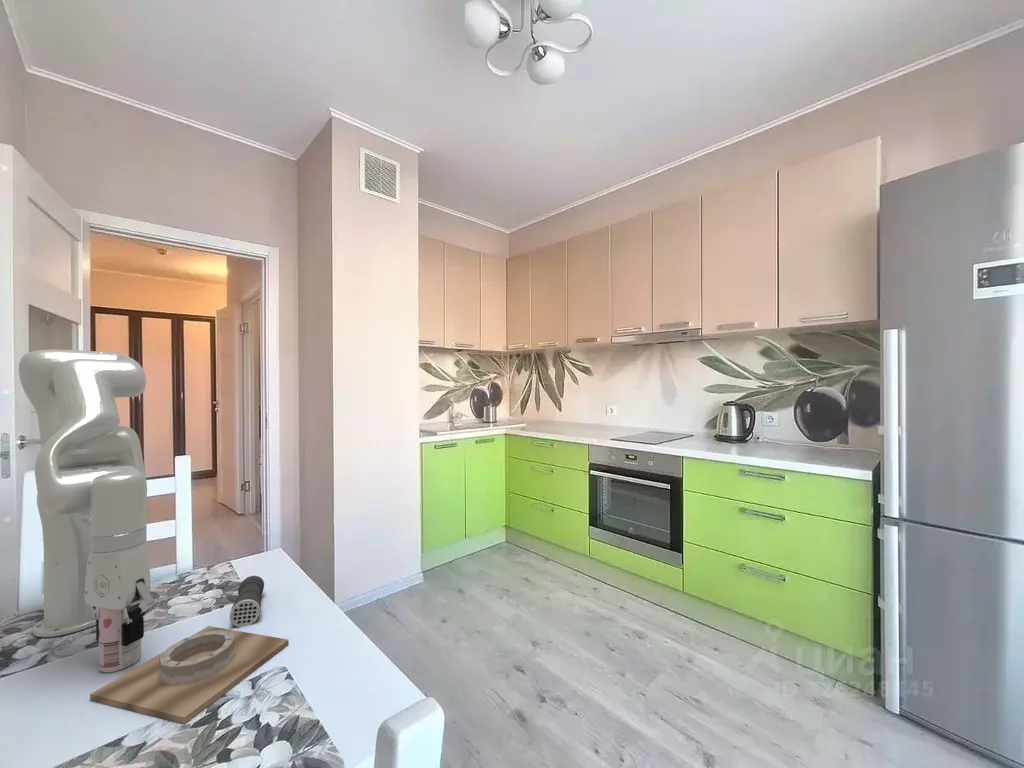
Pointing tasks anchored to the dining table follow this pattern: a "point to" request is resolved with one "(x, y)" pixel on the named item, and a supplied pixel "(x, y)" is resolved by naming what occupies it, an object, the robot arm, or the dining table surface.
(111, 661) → the beverage can
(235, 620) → the flashlight
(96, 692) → the socket board
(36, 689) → the dining table surface
